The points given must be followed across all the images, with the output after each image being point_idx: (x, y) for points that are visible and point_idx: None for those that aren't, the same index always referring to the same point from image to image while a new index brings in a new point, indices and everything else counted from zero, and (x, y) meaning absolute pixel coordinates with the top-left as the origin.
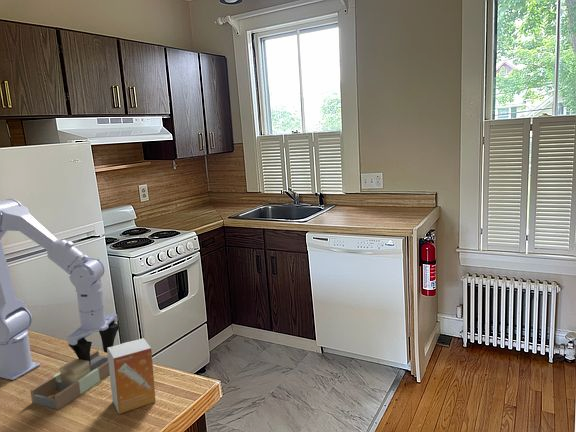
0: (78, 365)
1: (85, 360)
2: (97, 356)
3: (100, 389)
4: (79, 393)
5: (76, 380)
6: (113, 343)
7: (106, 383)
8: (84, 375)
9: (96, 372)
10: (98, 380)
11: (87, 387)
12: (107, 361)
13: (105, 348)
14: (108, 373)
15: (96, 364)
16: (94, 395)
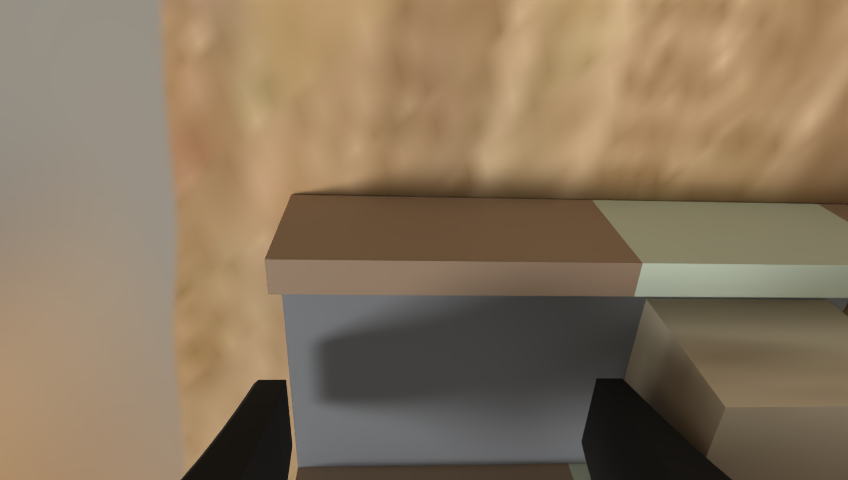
0: (837, 438)
1: (711, 450)
2: (323, 460)
3: (731, 89)
4: (838, 211)
5: (843, 318)
6: (209, 452)
7: (620, 109)
8: (736, 318)
9: (666, 251)
10: (612, 207)
11: (749, 211)
12: (462, 286)
13: (281, 470)
14: (477, 205)
15: (456, 376)
16: (838, 69)
